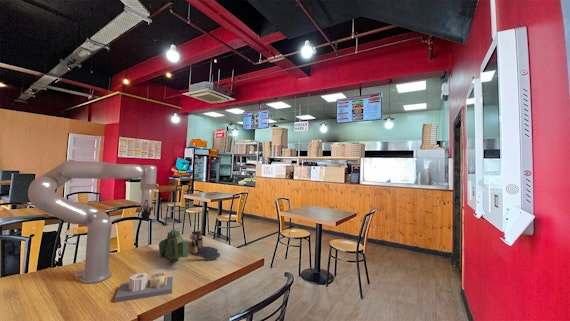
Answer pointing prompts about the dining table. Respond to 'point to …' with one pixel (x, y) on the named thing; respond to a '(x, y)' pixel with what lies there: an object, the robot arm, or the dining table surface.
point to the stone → (208, 253)
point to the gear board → (146, 288)
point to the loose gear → (138, 282)
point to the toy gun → (197, 239)
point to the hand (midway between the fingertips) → (146, 217)
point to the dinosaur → (173, 246)
